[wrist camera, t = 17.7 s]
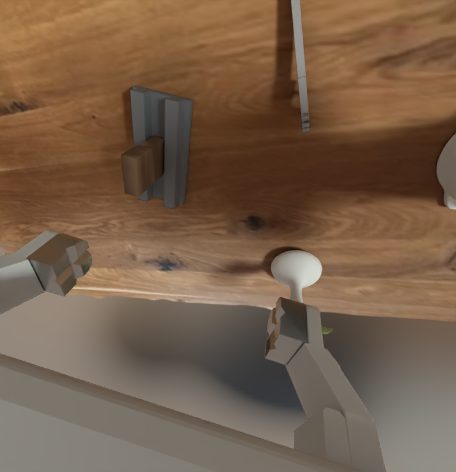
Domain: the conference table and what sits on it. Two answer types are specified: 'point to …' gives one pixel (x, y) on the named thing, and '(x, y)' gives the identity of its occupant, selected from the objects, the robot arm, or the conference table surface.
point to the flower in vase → (297, 273)
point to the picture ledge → (176, 139)
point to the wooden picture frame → (143, 165)
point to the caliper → (300, 64)
